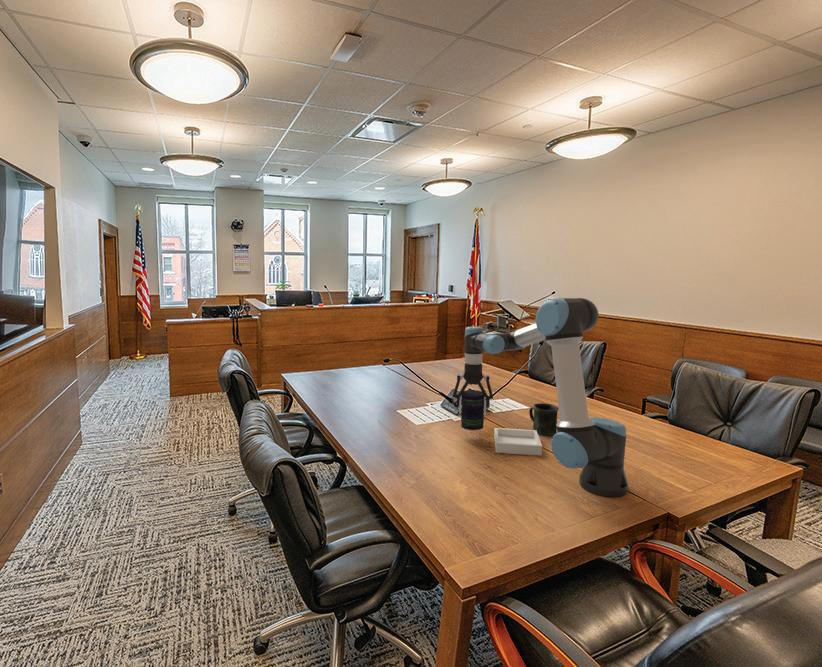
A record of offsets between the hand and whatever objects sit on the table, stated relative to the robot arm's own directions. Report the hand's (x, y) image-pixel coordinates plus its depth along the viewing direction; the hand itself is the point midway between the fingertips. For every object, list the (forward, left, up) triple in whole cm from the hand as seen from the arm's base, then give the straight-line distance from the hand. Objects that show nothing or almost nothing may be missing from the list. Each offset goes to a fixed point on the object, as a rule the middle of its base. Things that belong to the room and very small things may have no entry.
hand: (472, 413), depth 188 cm
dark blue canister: (0, 0, -6) cm, 6 cm away
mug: (+16, -32, -12) cm, 38 cm away
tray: (-4, -19, -12) cm, 22 cm away
